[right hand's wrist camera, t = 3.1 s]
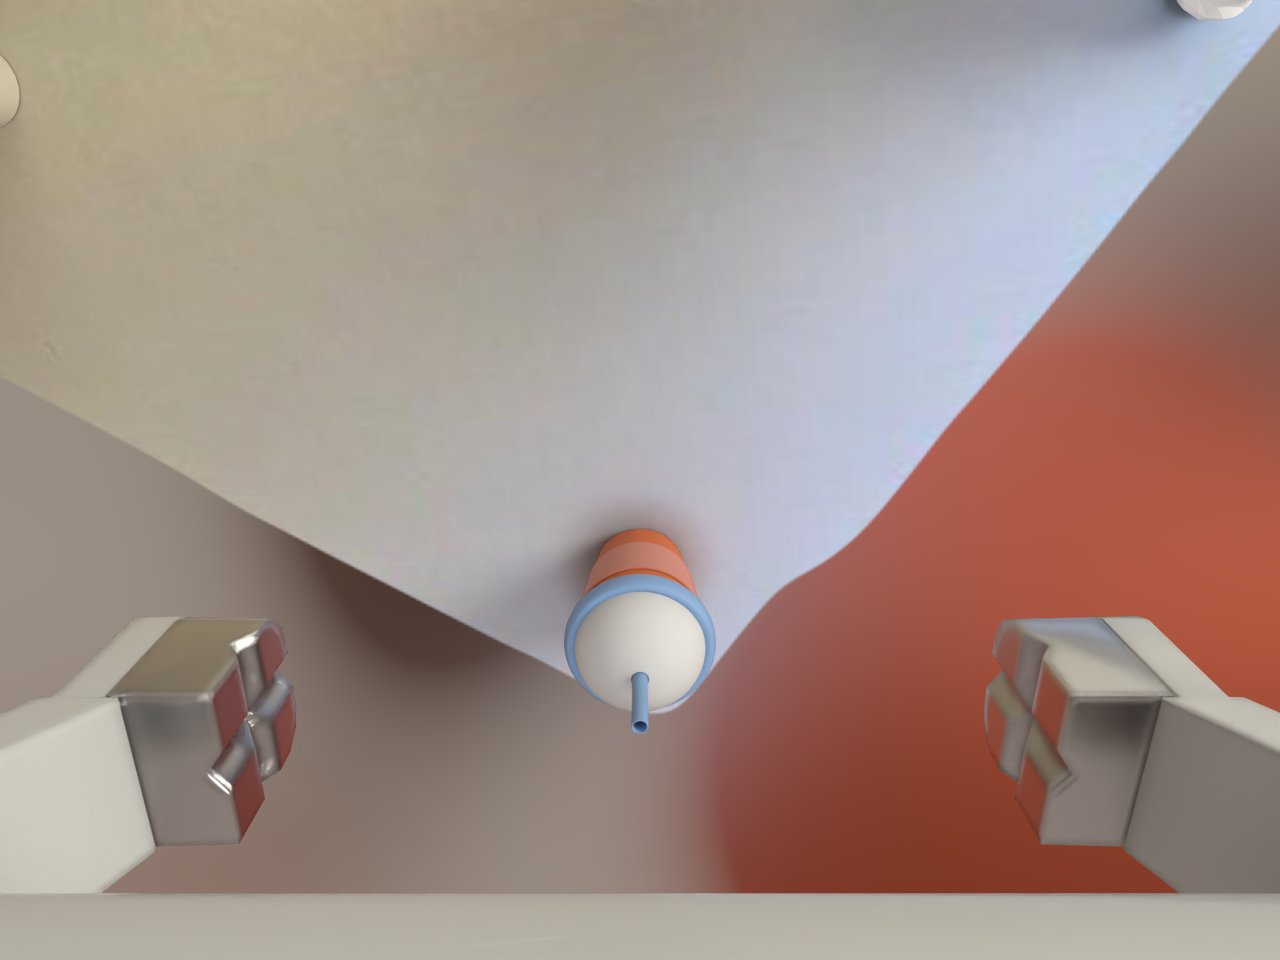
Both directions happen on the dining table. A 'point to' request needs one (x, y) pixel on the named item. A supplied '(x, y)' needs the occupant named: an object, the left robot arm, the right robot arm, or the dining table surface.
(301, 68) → the dining table surface
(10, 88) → the white bottle
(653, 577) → the cup with straw
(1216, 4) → the skull
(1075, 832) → the right robot arm
